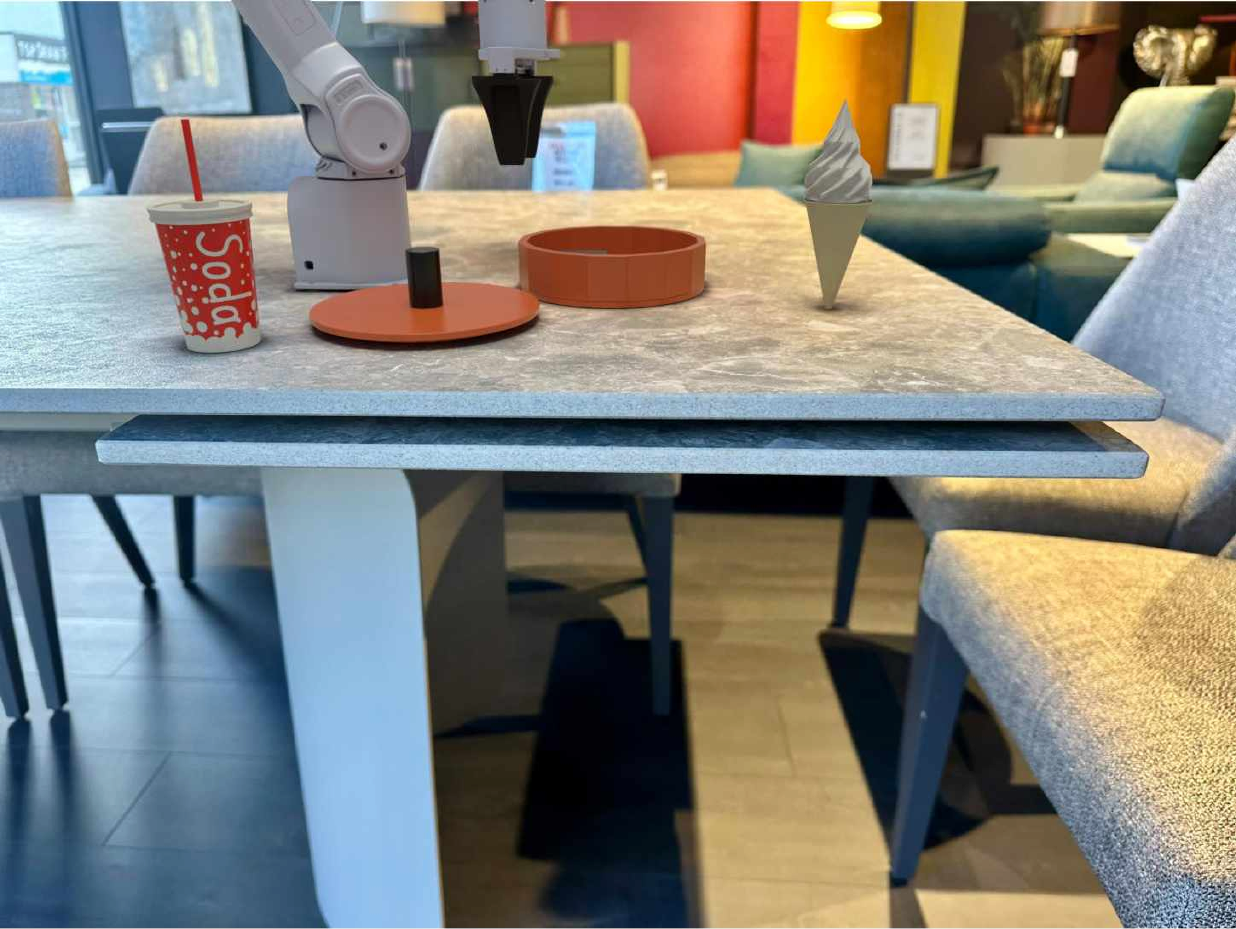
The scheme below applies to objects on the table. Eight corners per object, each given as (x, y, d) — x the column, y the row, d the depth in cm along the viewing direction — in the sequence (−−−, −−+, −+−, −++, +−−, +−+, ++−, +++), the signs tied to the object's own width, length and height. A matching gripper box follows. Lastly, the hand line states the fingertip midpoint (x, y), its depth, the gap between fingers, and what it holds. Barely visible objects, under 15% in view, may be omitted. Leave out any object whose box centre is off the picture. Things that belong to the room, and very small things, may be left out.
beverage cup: (169, 359, 57) (121, 122, 51) (178, 336, 62) (135, 118, 57) (273, 350, 59) (237, 120, 53) (272, 328, 64) (240, 116, 59)
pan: (508, 307, 70) (505, 255, 69) (534, 268, 84) (533, 224, 83) (707, 309, 69) (709, 256, 68) (700, 270, 84) (701, 226, 82)
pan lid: (273, 349, 59) (262, 270, 57) (353, 294, 74) (345, 230, 72) (522, 352, 59) (519, 273, 57) (552, 296, 74) (550, 232, 72)
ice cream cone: (782, 304, 71) (797, 98, 65) (837, 299, 73) (856, 97, 67) (817, 318, 67) (836, 99, 61) (875, 313, 68) (899, 99, 62)
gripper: (548, -17, 70) (553, 168, 75) (567, -1, 83) (570, 155, 88) (457, -16, 70) (469, 168, 75) (490, -1, 83) (498, 155, 89)
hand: (518, 161), depth 82 cm, fingers open, 7 cm apart
